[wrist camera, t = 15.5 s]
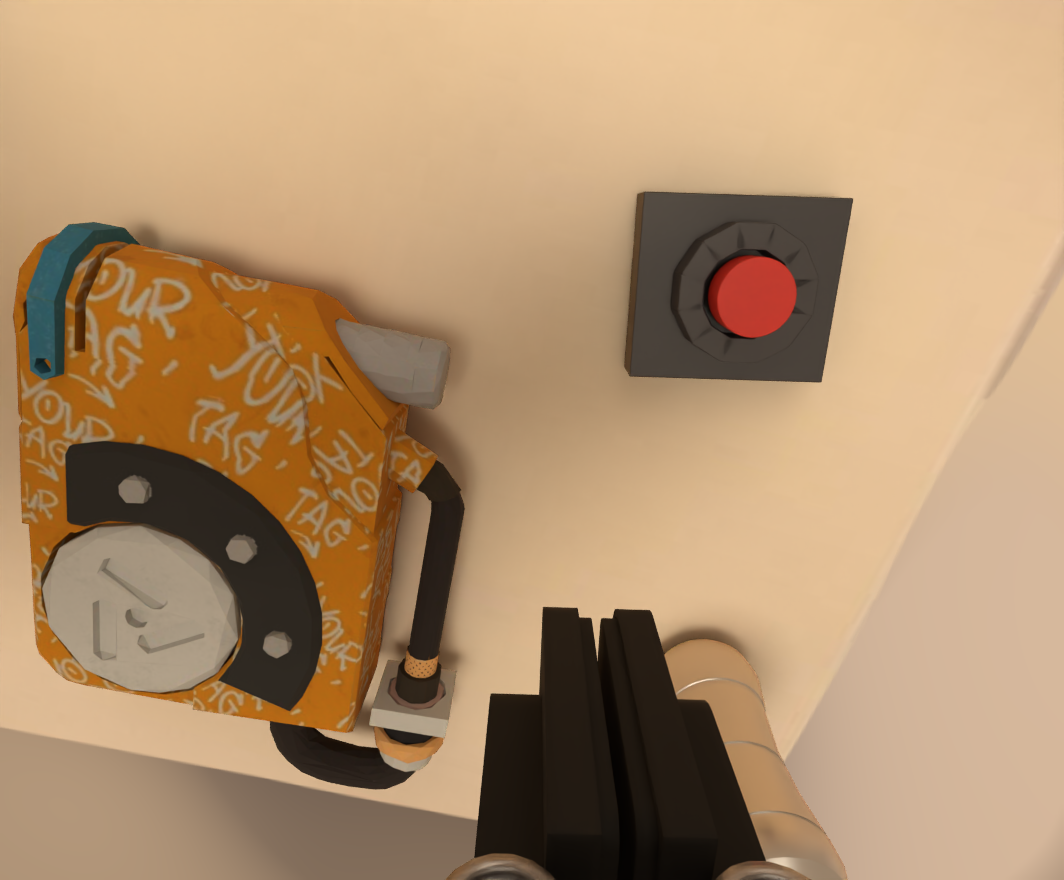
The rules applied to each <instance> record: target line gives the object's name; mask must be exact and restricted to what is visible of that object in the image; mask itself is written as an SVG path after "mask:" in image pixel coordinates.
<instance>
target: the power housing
mask: <svg viewBox="0 0 1064 880" xmlns="http://www.w3.org/2000/svg"><path fill="white" fill-rule="evenodd" d="M852 203H853V199H852V198H827V197H796V196H765V195H734V194H703V193H672V192H642V193H639V194H638V196H637V209H636V222H635V235H634V248H633V261H632V274H631V287H630V300H629V314H628V327H627V340H626V353H625V366H624V367H625V369H626V371H627V372H628V374H629V376H634V377H666V378H697V379H729V380H760V381H791V382H821V381H822V376H823V370H824V364H825V358H826V353H827V347H828V341H829V335H830V330H831V324H832V318H833V312H834V307H835V301H836V295H837V289H838V284H839V278H840V272H841V266H842V260H843V255H844V249H845V243H846V237H847V232H848V226H849V220H850V214H851V209H852ZM745 255H754V256H762V257H768V258H772V259H775V260H777V261H779V262H781V263H782V264H783V265H785V266H786V267H787V268H788V270H789V271H790V272H791V274H792V276H793V278H794V280H795V283H796V289H797V296H796V303H795V306H794V309H793V311H792V313H791V315H790V317H789V318H788V320H787V321H786V322H785V323H784V324H783V325H782V326H781V327H780V328H778V329H777V330H776V331H774V332H772V333H770V334H768V335H765V336H762V337H756V338H750V337H743V336H740V335H737V334H735V333H734V332H732V331H730V330H728V329H726V328H725V327H723V326H722V325H720V324H719V323H718V322H717V321H716V320H715V318H714V317H713V315H712V313H711V311H710V308H709V304H708V291H709V286H710V283H711V281H712V279H713V277H714V275H715V274H716V272H717V271H718V270H719V269H720V268H721V267H722V266H723V265H724V264H725V263H727V262H728V261H730V260H732V259H734V258H737V257H740V256H745Z"/></svg>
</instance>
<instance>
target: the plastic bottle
mask: <svg viewBox="0 0 1064 880" xmlns="http://www.w3.org/2000/svg"><path fill="white" fill-rule="evenodd" d="M664 656H665V659H666V663H667V666H668V669H669V673H670V676H671V679H672V683H673V686H674V690H675V693H676V696H677V699H691V700H706V701H707V702H708V703H709V705H710V707H711V709H712V712H713V714H714V717H715V720H716V723H717V726H718V728H719V731H720V734H721V737H722V739H723V742H724V745H725V748H726V751H727V753H728V756H729V759H730V762H731V764H732V767H733V770H734V773H735V776H736V778H737V781H738V784H739V787H740V790H741V792H742V795H743V798H744V801H745V803H746V806H747V809H748V812H749V815H750V817H751V820H752V823H753V826H754V828H755V831H756V834H757V837H758V840H759V842H760V845H761V848H762V851H763V853H764V856H765V859H766V861H769V862H773V863H776V864H779V865H782V866H786V867H789V868H792V869H793V870H795V871H797V872H799V873H801V874H802V875H804V876H806V877H808V878H809V879H811V880H848V879H847V874H846V870H845V866H844V864H843V863H842V861H841V859H840V857H839V855H838V853H837V852H836V850H835V848H834V846H833V845H832V843H831V841H830V839H829V838H828V837H827V835H826V833H825V832H824V830H823V829H822V827H821V826H820V824H819V822H818V821H817V819H816V818H815V816H814V815H813V813H812V812H811V810H810V809H809V807H808V805H807V804H806V802H805V801H804V799H803V798H802V796H801V795H800V793H799V791H798V789H797V787H796V785H795V783H794V782H793V779H792V777H791V776H790V774H789V772H788V770H787V768H786V766H785V764H784V762H783V760H782V758H781V756H780V754H779V752H778V750H777V747H776V744H775V741H774V738H773V734H772V731H771V728H770V725H769V722H768V719H767V716H766V712H765V703H764V698H763V695H762V691H761V687H760V683H759V680H758V676H757V675H756V673H755V671H754V669H753V668H752V667H751V666H750V664H749V663H748V662H747V660H746V659H745V658H744V657H743V656H742V655H741V654H740V652H739V651H737V650H736V649H735V648H733V647H732V646H730V645H727V644H725V643H723V642H718V641H714V640H709V639H694V640H689V641H685V642H682V643H680V644H678V645H676V646H674V647H673V648H671V649H670V650H669V651H667V652H666V653H665V654H664Z"/></svg>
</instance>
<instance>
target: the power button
mask: <svg viewBox="0 0 1064 880" xmlns="http://www.w3.org/2000/svg"><path fill="white" fill-rule="evenodd" d="M796 296H797V289H796V283H795V280H794V278H793V276H792V274H791V272H790V271H789V270H788V268H787V267H786V266H785V265H783V264H782V263H781V262H779V261H777V260H775V259H772V258H768V257H762V256H754V255H745V256H740V257H737V258H734V259H732V260H730V261H728V262H727V263H725V264H724V265H723V266H722V267H721V268H720V269H719V270H718V271H717V272H716V274H715V275H714V277H713V279H712V281H711V283H710V286H709V291H708V304H709V308H710V311H711V313H712V315H713V317H714V318H715V320H716V321H717V322H718V323H719V324H720V325H722V326H723V327H725V328H726V329H728V330H730V331H732V332H734V333H735V334H737V335H740V336H743V337H750V338H756V337H762V336H765V335H768V334H770V333H772V332H774V331H776V330H777V329H778V328H780V327H781V326H782V325H783V324H784V323H785V322H786V321H787V320H788V318H789V317H790V315H791V313H792V311H793V309H794V306H795V303H796Z"/></svg>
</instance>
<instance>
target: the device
mask: <svg viewBox="0 0 1064 880" xmlns="http://www.w3.org/2000/svg"><path fill="white" fill-rule="evenodd" d="M13 320H14V326H15V333H16V351H17V381H18V411H19V415H20V417H21V420H22V422H21V424H20V427H19V440H20V472H21V504H22V523H25V524H29V531H30V546H31V564H32V586H33V607H34V622H35V636H36V645H37V648H38V651H39V654H40V655H41V656H42V657H43V658H44V659H45V660H46V661H47V662H48V664H49V665H50V666H51V667H52V668H53V669H54V670H55V671H56V672H57V673H58V674H59V675H61V676H62V677H63V678H65V679H66V680H68V681H71V682H75V683H79V684H83V685H87V686H93V687H98V688H104V689H109V690H114V691H120V692H125V693H131V694H136V695H142V696H147V697H153V698H158V699H164V700H169V701H174V702H180V703H185V704H191V705H193V709H194V710H200V711H207V712H214V713H220V714H227V715H233V716H240V717H246V718H253V719H260V720H266V721H270V730H271V733H272V736H273V738H274V741H275V743H276V746H277V748H278V750H279V751H280V752H281V754H282V755H283V756H284V757H285V758H286V759H287V760H288V762H290V763H291V764H292V765H294V766H295V767H296V768H297V769H299V770H300V771H301V772H303V773H305V774H308V775H310V776H313V777H315V778H317V779H320V780H323V781H327V782H331V783H335V784H340V785H345V786H351V787H359V788H367V789H387V788H390V787H392V786H395V785H398V784H400V783H403V782H405V781H406V780H407V779H408V778H409V777H410V776H411V775H412V774H413V773H414V772H415V771H416V770H420V769H422V768H423V767H424V766H426V765H427V764H428V762H429V761H430V759H431V757H432V755H433V754H435V753H436V752H437V751H438V749H439V748H440V747H441V745H442V744H443V739H444V738H445V734H446V729H447V725H448V721H449V715H450V709H451V703H452V697H453V691H454V685H455V678H456V672H457V671H454V670H448V669H442V668H441V664H440V663H439V662H438V657H439V646H440V641H441V635H442V630H443V624H444V619H445V613H446V608H447V602H448V597H449V591H450V586H451V580H452V575H453V570H454V564H455V559H456V553H457V548H458V542H459V537H460V531H461V526H462V520H463V515H464V509H465V508H464V503H463V500H462V498H461V495H460V490H461V489H460V488H459V486H458V485H457V483H456V482H455V481H454V479H453V478H452V476H451V475H450V474H449V472H448V471H447V469H446V468H445V467H444V465H443V464H441V463H440V462H438V461H436V459H437V457H438V455H437V454H435V453H434V452H432V451H431V450H429V449H428V448H426V447H425V446H423V445H422V444H420V443H419V442H417V441H416V440H415V439H413V438H412V437H410V436H409V435H407V434H406V433H405V430H406V423H407V416H408V409H409V405H411V406H417V407H423V408H429V409H434V408H435V407H436V406H438V405H439V404H440V403H441V400H442V396H443V392H444V389H445V385H446V380H447V373H448V367H449V361H450V347H449V346H448V344H447V343H446V341H442V340H436V339H430V338H425V337H422V336H419V335H415V334H410V333H405V332H400V331H396V330H393V329H392V330H388V329H384V328H379V327H374V326H371V325H367V324H366V325H363V324H360V323H359V322H358V321H357V320H356V319H355V318H354V317H353V316H352V315H351V314H350V313H349V312H348V311H347V310H346V309H345V308H344V307H343V306H342V305H341V304H340V303H339V302H338V301H337V300H336V299H335V298H333V297H331V296H329V295H327V294H325V293H323V292H321V291H319V290H315V289H309V288H304V287H299V286H294V285H289V284H284V283H278V282H273V281H267V280H261V279H256V278H250V277H244V276H239V275H237V274H236V273H234V272H232V271H231V270H229V269H227V268H225V267H223V266H221V265H219V264H217V263H215V262H211V261H207V260H202V259H198V258H193V257H189V256H185V255H180V254H176V253H171V252H167V251H162V250H158V249H154V248H149V247H145V246H141V245H140V244H139V243H138V242H137V241H136V240H135V239H134V238H133V237H132V236H131V235H130V234H129V233H128V231H127V230H126V229H125V228H121V227H116V226H111V225H106V224H101V223H95V222H92V223H80V224H69V225H68V226H67V227H65V228H64V229H63V230H62V231H61V232H60V233H59V234H56V235H54V236H51V237H48V238H47V239H45V240H43V241H41V242H39V243H38V244H37V245H36V246H35V248H34V249H33V251H32V252H31V253H30V255H29V256H28V258H27V259H26V260H25V262H24V263H23V265H22V266H21V267H20V269H19V276H18V283H17V291H16V298H15V305H14V313H13ZM398 484H399V485H400V486H402V487H404V488H405V489H407V490H408V491H410V492H412V493H413V492H414V491H415V490H416V489H417V490H419V491H421V492H422V493H424V494H426V496H427V498H428V499H429V500H430V501H431V517H430V523H429V529H428V535H427V541H426V547H425V553H424V559H423V565H422V571H421V577H420V583H419V589H418V595H417V602H416V608H415V614H414V620H413V626H412V632H411V638H410V644H409V646H408V648H407V653H406V657H405V658H404V659H403V660H402V662H399V661H393V660H388V661H387V664H386V667H385V670H384V673H383V676H382V679H381V682H380V686H379V689H378V692H377V695H376V698H375V701H374V704H373V707H372V711H371V717H370V722H369V725H371V726H374V733H375V740H376V745H377V747H378V748H371V747H361V746H356V745H353V744H349V743H346V742H342V741H339V740H335V739H332V738H328V737H325V736H324V735H323V734H322V733H320V732H319V731H318V730H317V729H315V728H319V729H326V730H332V731H339V732H345V733H347V732H351V731H353V729H354V726H355V723H356V721H357V718H358V715H359V713H360V710H361V707H362V705H363V702H364V699H365V697H366V694H367V691H368V688H369V686H370V683H371V680H372V678H373V675H374V672H375V670H376V667H377V662H378V656H379V651H380V645H381V639H382V638H381V630H382V623H383V616H384V609H385V603H386V598H387V596H388V592H389V586H390V579H391V572H392V567H391V562H392V555H393V548H394V542H395V535H396V528H397V524H398V522H399V517H400V508H401V499H402V493H401V492H400V490H399V489H398V488H397V486H398Z"/></svg>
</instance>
